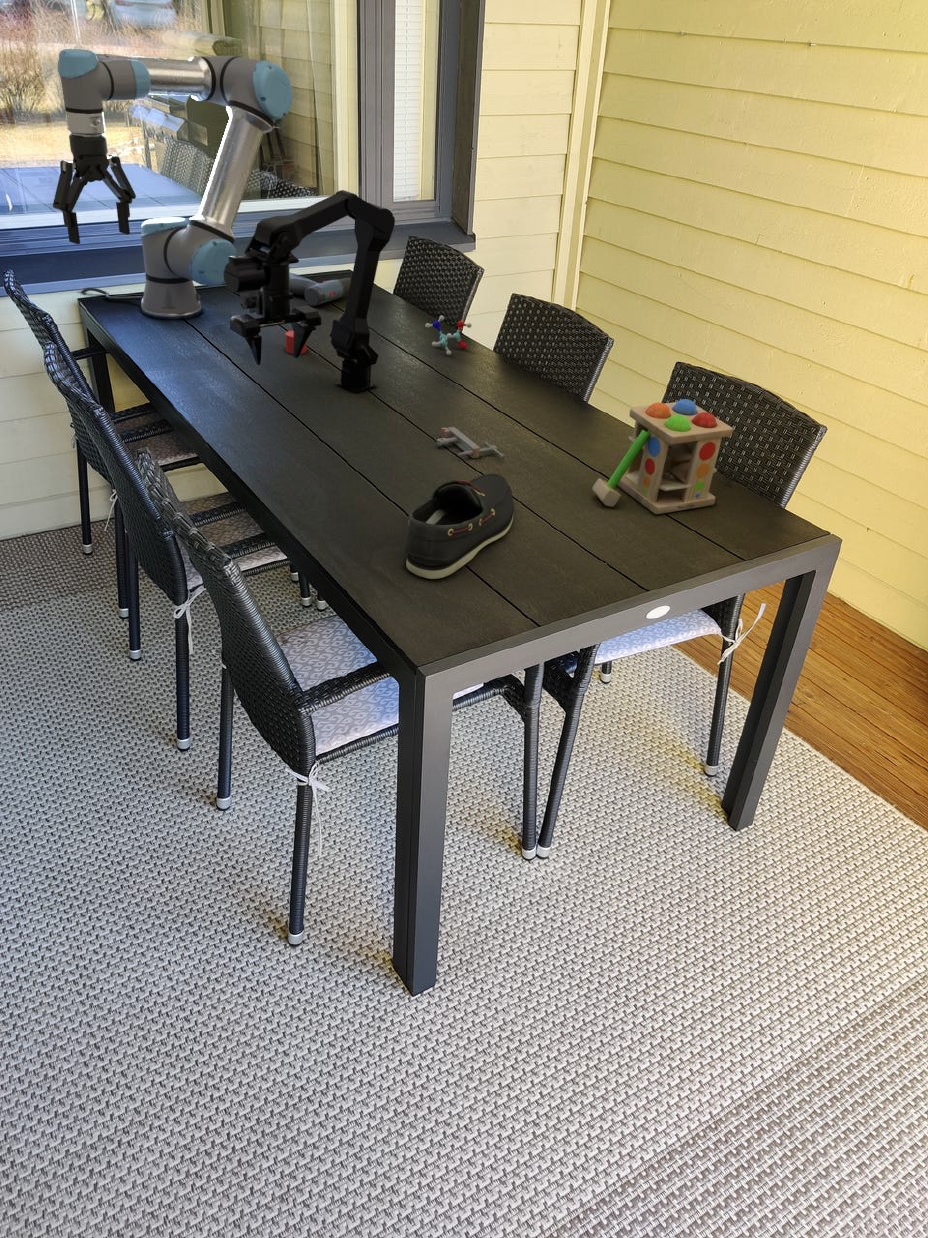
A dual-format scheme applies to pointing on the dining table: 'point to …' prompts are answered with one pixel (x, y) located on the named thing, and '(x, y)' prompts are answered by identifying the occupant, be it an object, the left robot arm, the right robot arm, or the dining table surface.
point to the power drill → (319, 289)
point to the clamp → (464, 443)
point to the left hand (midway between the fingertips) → (100, 237)
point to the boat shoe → (457, 524)
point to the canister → (289, 343)
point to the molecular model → (448, 335)
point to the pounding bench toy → (668, 458)
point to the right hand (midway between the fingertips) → (277, 360)
